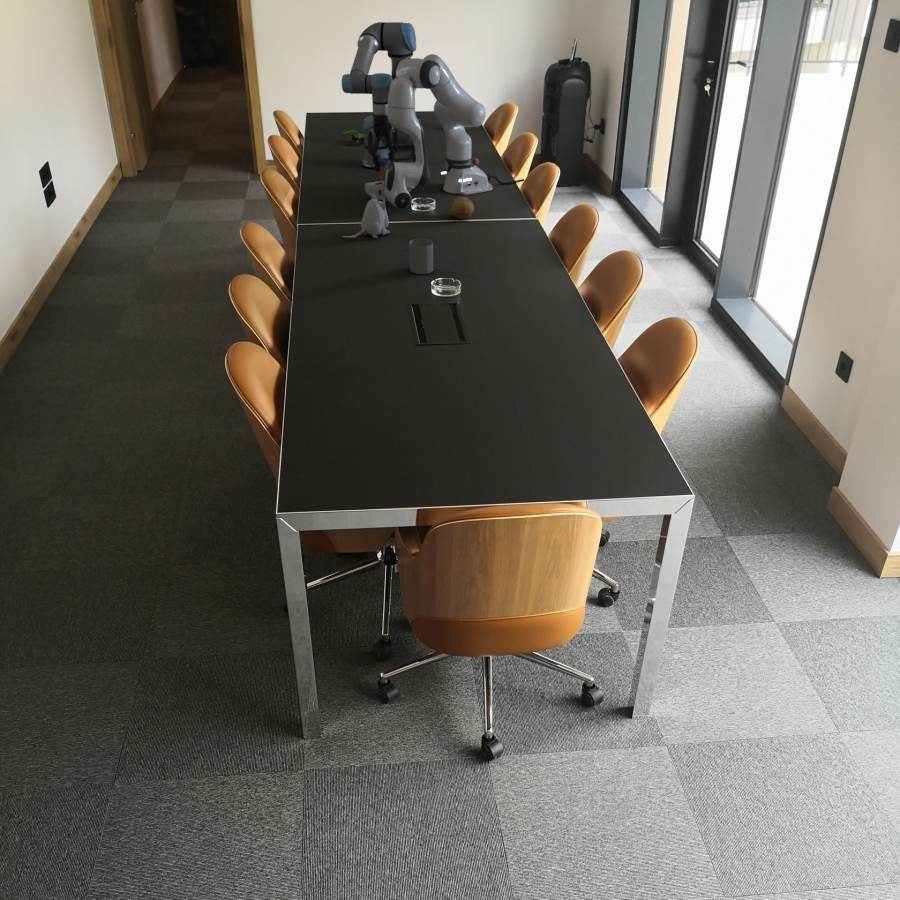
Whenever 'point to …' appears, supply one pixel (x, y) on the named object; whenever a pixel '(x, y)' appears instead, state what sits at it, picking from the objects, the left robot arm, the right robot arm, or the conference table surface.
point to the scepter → (355, 137)
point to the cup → (421, 256)
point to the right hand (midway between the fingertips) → (383, 181)
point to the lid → (384, 161)
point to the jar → (381, 172)
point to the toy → (374, 219)
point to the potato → (462, 208)
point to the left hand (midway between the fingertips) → (383, 169)
